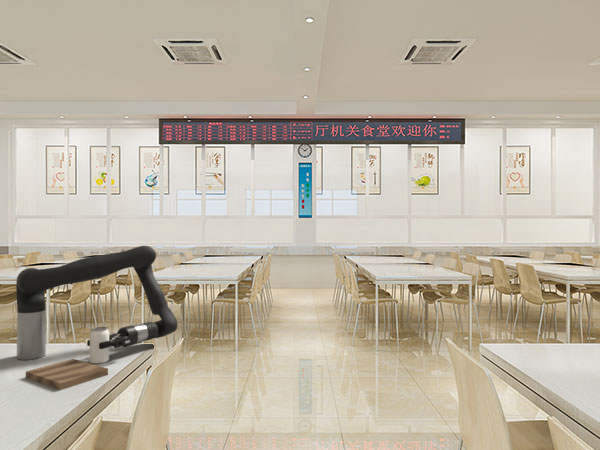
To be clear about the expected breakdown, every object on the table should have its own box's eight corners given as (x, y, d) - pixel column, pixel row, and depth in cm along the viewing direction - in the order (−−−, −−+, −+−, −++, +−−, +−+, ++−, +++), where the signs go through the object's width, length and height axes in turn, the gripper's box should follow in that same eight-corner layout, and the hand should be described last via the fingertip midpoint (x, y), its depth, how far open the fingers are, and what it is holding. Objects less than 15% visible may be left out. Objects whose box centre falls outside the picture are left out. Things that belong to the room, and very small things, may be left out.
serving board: (25, 377, 142) (25, 371, 142) (73, 364, 155) (73, 358, 155) (60, 390, 131) (60, 383, 131) (107, 374, 145) (107, 368, 145)
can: (101, 364, 155) (101, 331, 155) (85, 363, 156) (85, 330, 156) (112, 359, 161) (113, 327, 161) (97, 358, 162) (97, 326, 162)
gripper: (121, 323, 175) (81, 331, 160) (145, 327, 167) (106, 337, 153) (121, 341, 175) (81, 352, 160) (145, 347, 167) (105, 358, 153)
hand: (93, 344), depth 157 cm, fingers closed on can, 6 cm apart
